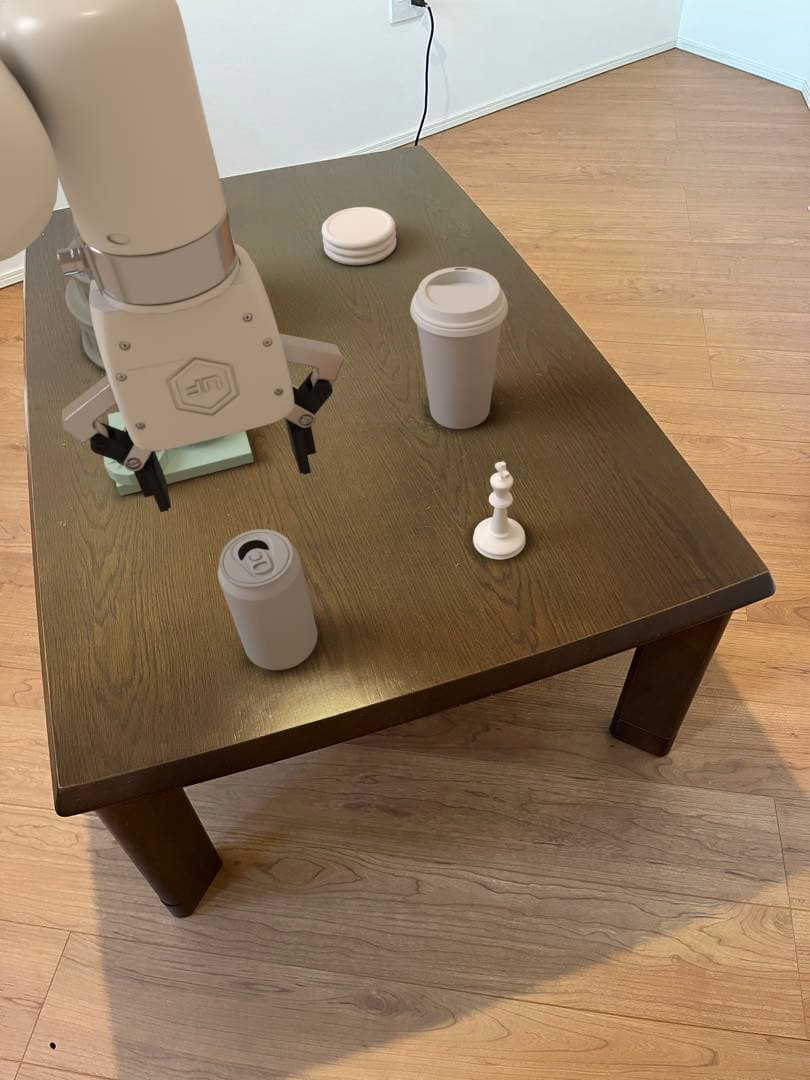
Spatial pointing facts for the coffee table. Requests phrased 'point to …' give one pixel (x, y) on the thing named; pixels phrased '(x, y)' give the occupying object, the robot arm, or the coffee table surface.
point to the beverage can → (268, 598)
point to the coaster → (359, 236)
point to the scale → (184, 459)
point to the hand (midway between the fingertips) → (233, 478)
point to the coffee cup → (459, 342)
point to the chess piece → (499, 521)
